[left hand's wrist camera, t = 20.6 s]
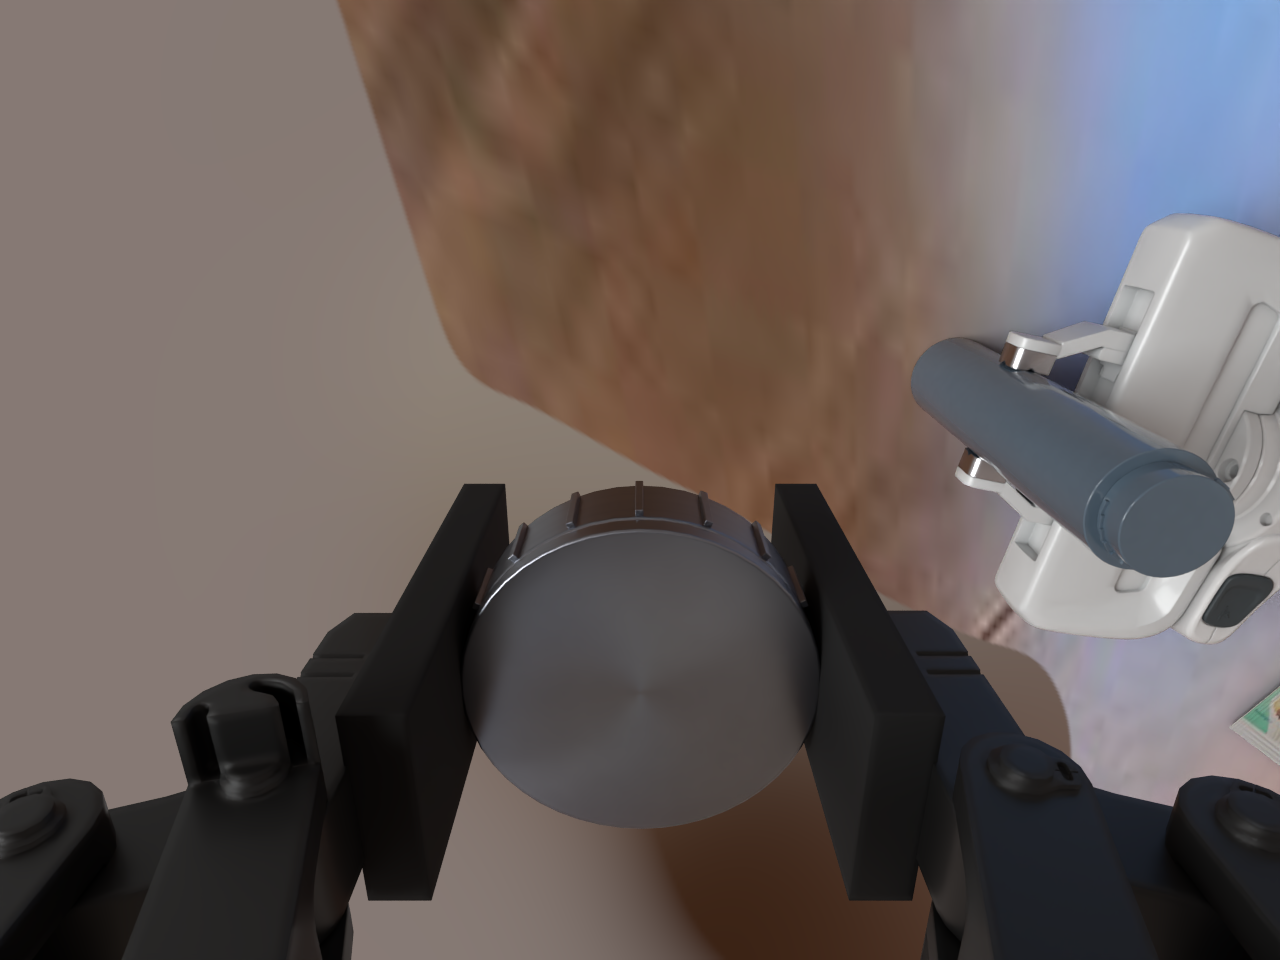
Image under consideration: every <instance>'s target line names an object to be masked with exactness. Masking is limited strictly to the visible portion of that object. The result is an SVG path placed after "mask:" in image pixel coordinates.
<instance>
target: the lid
mask: <svg viewBox="0 0 1280 960" xmlns="http://www.w3.org/2000/svg"><path fill="white" fill-rule="evenodd" d="M807 606H808V603H807V600H806V597H805V595H804V592H803V590H802V587H801V584H800V582H799V579H798V577H797V574H796V571H795V569H794V567H793V566H789V567H787V566H786V564H785V562H784V560H783V559H782V557H781V556H780V554H779V553H778V551H777V550H776V549H775V547H774V546H773V545H772V543H771V542H770V541H769V540H768V539H767V538H766V537H765V536H764V534H763V531H762V528H761V525H760V524H759V523H758V522H757V521H755V522H754V523H752V524H751V523H750V522H748V521H747V520H746V519H745V518H744V517H742V516H740V515H739V514H737V513H735V512H734V511H732V510H731V509H729V508H727V507H726V506H724V505H721V504H719V503H717V502H715V501H712V500H710V499H708V495H707V493H706V492H703V491H700V493H699V495H696V494H693V493H690V492H686V491H682V490H676V489H671V488H665V487H653V486H643V481H636V486H629V487H616V488H611V489H605V490H600V491H596V492H592V493H589V494H586V495H583V496H580V494H579V492H576V493H573V494H572V495H571V500H569V501H567V502H565V503H563V504H561V505H559V506H556V507H554V508H553V509H551V510H549V511H548V512H546V513H545V514H543V515H542V516H540V517H539V518H537V519H536V520H534V521H533V522H532V523H531V524H530V525H528V526H527V525H526V524H525V523H522V524H521V525H520V526H519V529H518V532H517V535H516V537H515V539H514V540H513V541H512V542H511V543H510V545H509V546H508V547H507V548H506V549H505V551H504V552H503V554H502V556H501V557H500V559H499V560H498V562H497V563H496V565H495V567H494V569H490V568H488V569H487V571H486V573H485V576H484V578H483V581H482V583H481V586H480V589H479V591H478V594H477V596H476V599H475V602H474V604H473V607H472V608H473V609H475V610H477V612H476V615H475V617H474V621H473V623H472V626H471V628H470V631H469V634H468V637H467V641H466V644H465V648H464V651H463V657H462V665H461V688H462V697H463V704H464V709H465V713H466V716H467V719H468V721H469V724H470V727H471V730H472V732H473V734H474V736H475V738H476V740H477V741H478V743H479V745H480V747H481V749H482V750H483V751H484V753H485V754H486V756H487V757H488V758H489V760H490V761H491V762H492V764H493V765H494V766H495V767H496V768H497V769H498V770H499V771H500V772H501V773H502V774H503V776H504V777H505V778H506V779H507V780H509V781H510V782H511V783H512V784H514V785H515V786H516V787H517V788H519V789H520V790H521V791H522V792H524V793H525V794H527V795H528V796H530V797H531V798H533V799H535V800H536V801H538V802H539V803H541V804H543V805H545V806H547V807H549V808H551V809H553V810H555V811H557V812H560V813H562V814H565V815H568V816H571V817H574V818H576V819H579V820H583V821H587V822H592V823H595V824H599V825H606V826H613V827H620V828H641V829H644V828H661V827H669V826H676V825H682V824H687V823H691V822H694V821H698V820H702V819H706V818H709V817H711V816H714V815H717V814H719V813H722V812H724V811H727V810H729V809H731V808H733V807H734V806H737V805H738V804H740V803H742V802H744V801H746V800H747V799H749V798H750V797H752V796H753V795H755V794H756V793H758V792H760V791H761V790H762V789H763V788H765V787H766V786H767V785H768V784H769V783H771V782H772V781H773V780H774V779H775V778H777V777H778V776H779V774H780V773H781V772H782V771H783V770H784V769H785V768H786V767H787V766H788V765H789V764H790V762H791V761H792V760H793V758H794V757H795V755H796V754H797V753H798V751H799V750H800V748H801V747H802V745H803V743H804V741H805V739H806V737H807V735H808V733H809V731H810V729H811V727H812V724H813V721H814V718H815V715H816V712H817V703H818V694H819V684H820V674H821V665H820V658H819V651H818V648H817V644H816V641H815V638H814V635H813V632H812V629H811V626H810V623H809V621H808V619H807V615H806V613H805V610H804V608H805V607H807Z"/></svg>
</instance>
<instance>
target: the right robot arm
mask: <svg viewBox="0 0 1280 960" xmlns="http://www.w3.org/2000/svg"><path fill="white" fill-rule="evenodd" d="M1078 353H1083V354H1086V355H1088V356H1089V358H1088V360H1087V363H1086V365H1085V367H1084V370H1083V372H1082V374H1081V377H1080V379H1079V381H1078V384H1077V386H1076V388H1075V391H1074V392H1075V393H1077V394H1079V395H1081V396H1083V397H1085V398H1086V399H1088V400H1090V401H1092V402H1094V403H1096V404H1098V405H1100V406H1102V407H1104V408H1106V409H1108V410H1110V411H1112V412H1114V413H1116V414H1118V415H1120V416H1122V417H1124V418H1126V419H1128V420H1129V421H1131V422H1133V423H1135V424H1137V425H1139V426H1141V427H1143V428H1145V429H1147V430H1149V431H1151V432H1153V433H1155V434H1157V435H1159V436H1161V437H1163V438H1165V439H1167V440H1169V441H1171V442H1172V443H1174V444H1176V445H1178V446H1180V447H1182V448H1184V449H1186V450H1188V451H1190V452H1192V453H1194V454H1196V455H1197V456H1199V457H1201V458H1202V459H1203V460H1205V461H1206V462H1207V463H1208V464H1209V465H1210V467H1211V468H1212V469H1213V471H1214V473H1215V474H1216V477H1218V478H1219V479H1221V480H1222V481H1223V482H1224V483H1225V484H1226V485H1227V486H1228V487H1229V488H1230V489H1229V490H1230V492H1231V494H1232V495H1233V497H1234V499H1235V500H1234V501H1233V503H1234V507H1235V521H1234V526H1233V529H1232V532H1231V534H1230V536H1229V538H1228V540H1227V542H1226V543H1225V545H1224V546H1223V547H1222V549H1221V550H1220V551H1219V552H1218V553H1217V554H1216V555H1215V556H1214V557H1213V558H1212V559H1211V560H1209V561H1208V562H1207V563H1205V564H1204V565H1202V566H1201V567H1199V568H1197V569H1195V570H1193V571H1191V572H1189V573H1186V574H1183V575H1179V576H1175V577H1167V578H1158V577H1151V576H1146V575H1143V574H1140V573H1138V572H1137V571H1135V570H1129V569H1122V568H1117V567H1114V566H1112V565H1109V564H1107V563H1105V562H1103V561H1102V560H1101V559H1099V558H1098V557H1097V556H1096V555H1094V554H1093V553H1092V552H1091V551H1090V550H1088V549H1087V548H1086V547H1085V546H1084V545H1083V544H1081V543H1080V542H1079V541H1078V540H1077V539H1075V538H1074V537H1073V536H1072V535H1071V534H1070V533H1068V532H1067V531H1066V530H1065V529H1064V528H1062V527H1061V526H1060V525H1059V524H1058V523H1057V522H1055V521H1054V520H1053V519H1052V518H1051V517H1049V516H1048V515H1047V514H1046V513H1045V512H1044V511H1042V510H1041V509H1040V508H1039V507H1038V506H1036V505H1035V504H1034V503H1033V502H1032V501H1031V500H1029V499H1028V498H1027V497H1026V496H1025V495H1023V494H1022V493H1021V492H1020V491H1019V490H1018V489H1016V490H1015V489H1014V488H1013V487H1012V486H1011V485H1010V484H1009V483H1008V482H1007V481H1006V479H1005V478H1003V477H1002V476H1001V475H1000V474H999V473H997V472H996V471H995V470H994V469H993V468H992V467H990V466H989V465H988V464H987V463H986V462H984V461H983V460H982V459H981V458H980V457H979V456H977V455H976V454H975V453H974V452H973V451H971V450H970V449H969V448H965V450H964V453H963V455H962V458H961V460H960V463H959V465H958V467H957V470H956V473H955V476H956V477H957V478H958V479H959V480H960V481H961V482H962V483H963V484H965V485H967V486H970V487H973V488H977V489H982V490H987V491H992V492H996V493H997V494H998V495H999V496H1000V497H1001V498H1002V499H1004V500H1005V501H1006V502H1007V503H1008V504H1009V505H1010V506H1011V507H1012V508H1013V509H1014V510H1015V511H1016V512H1018V513H1019V514H1020V515H1021V518H1020V520H1019V522H1018V525H1017V527H1016V529H1015V532H1014V534H1013V536H1012V539H1011V541H1010V543H1009V546H1008V548H1007V550H1006V553H1005V555H1004V557H1003V560H1002V562H1001V564H1000V567H999V569H998V571H997V573H996V576H995V585H996V586H997V588H998V590H999V592H1000V593H1001V595H1002V596H1003V598H1004V599H1005V601H1006V602H1007V603H1008V605H1009V606H1010V607H1011V608H1012V609H1013V611H1014V612H1015V613H1016V614H1017V615H1018V616H1019V617H1020V618H1021V619H1023V620H1024V621H1025V622H1026V623H1028V624H1029V625H1031V626H1033V627H1036V628H1039V629H1043V630H1048V631H1053V632H1059V633H1065V634H1072V635H1079V636H1088V637H1098V638H1111V639H1140V638H1146V637H1150V636H1154V635H1156V634H1159V633H1161V632H1163V631H1165V630H1167V629H1168V628H1169V627H1170V628H1172V629H1173V630H1175V631H1177V632H1178V633H1180V634H1181V635H1183V636H1184V637H1186V638H1188V639H1189V640H1191V641H1194V642H1197V643H1202V644H1217V643H1220V642H1222V641H1224V640H1225V639H1226V638H1228V637H1229V636H1230V635H1231V634H1232V633H1233V632H1235V631H1236V630H1237V629H1238V628H1239V627H1240V626H1241V625H1242V624H1243V623H1244V622H1245V621H1246V620H1247V619H1248V618H1249V617H1250V616H1251V615H1252V614H1253V613H1254V612H1255V611H1256V610H1257V609H1258V608H1259V607H1260V606H1261V605H1262V604H1263V603H1265V602H1266V601H1267V600H1268V599H1269V598H1270V597H1271V596H1272V595H1274V594H1275V593H1276V592H1277V591H1278V590H1279V589H1280V235H1279V236H1275V235H1273V234H1270V233H1268V232H1265V231H1263V230H1260V229H1257V228H1254V227H1251V226H1248V225H1245V224H1242V223H1238V222H1235V221H1232V220H1228V219H1224V218H1220V217H1214V216H1207V215H1199V214H1188V213H1175V214H1171V215H1168V216H1166V217H1164V218H1162V219H1160V220H1158V221H1156V222H1153V223H1152V224H1150V225H1148V226H1147V227H1146V228H1145V229H1144V230H1143V232H1142V234H1141V236H1140V238H1139V240H1138V243H1137V245H1136V248H1135V250H1134V252H1133V255H1132V257H1131V259H1130V262H1129V264H1128V267H1127V269H1126V271H1125V274H1124V276H1123V278H1122V281H1121V283H1120V285H1119V288H1118V290H1117V292H1116V295H1115V297H1114V299H1113V302H1112V304H1111V306H1110V309H1109V311H1108V313H1107V316H1106V318H1105V321H1104V323H1103V325H1101V324H1096V323H1091V322H1086V321H1083V322H1080V323H1077V324H1074V325H1071V326H1068V327H1065V328H1062V329H1059V330H1056V331H1053V332H1050V333H1047V334H1044V335H1043V337H1039V336H1034V335H1030V334H1025V333H1020V332H1016V331H1010V332H1009V335H1008V337H1007V340H1006V343H1005V345H1004V348H1003V350H1002V353H1001V356H1000V358H999V362H1001V363H1004V364H1005V365H1006V366H1008V367H1011V368H1014V369H1018V370H1022V371H1028V370H1030V371H1032V372H1034V373H1037V374H1041V375H1046V376H1049V374H1050V372H1051V369H1052V367H1053V365H1054V363H1055V360H1056V359H1060V358H1064V357H1067V356H1071V355H1074V354H1078Z"/></svg>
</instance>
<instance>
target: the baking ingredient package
mask: <svg viewBox="0 0 1280 960" xmlns="http://www.w3.org/2000/svg"><path fill="white" fill-rule="evenodd" d="M1229 728H1230V729H1232V730H1233V731H1234V732H1236V733H1237V734H1238V735H1240V736H1241V737H1242V738H1244V739H1245V740H1246V741H1248V742H1249V743H1250V744H1252V745H1253V746H1254V747H1256V748H1257V749H1258V750H1260V751H1261V752H1262V753H1264V754H1265V755H1266V756H1268V757H1269V758H1270V759H1271V760H1273V761H1274V762H1275V763H1277V764H1278V765H1279V766H1280V686H1279V687H1278V688H1277V689H1276V690H1274V691H1273V692H1272V693H1271V694H1270V695H1268V696H1267V697H1266V698H1265V699H1264V700H1262V701H1261V702H1260V703H1259V704H1257V705H1256V706H1255V707H1254V708H1253V709H1251V710H1250V711H1249V712H1248V713H1246V714H1245V715H1244V716H1242V717H1241V718H1240V719H1239V720H1238V721H1236V722H1235V723H1234V724H1232V726H1230V727H1229Z"/></svg>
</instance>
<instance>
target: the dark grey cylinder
mask: <svg viewBox="0 0 1280 960" xmlns="http://www.w3.org/2000/svg"><path fill="white" fill-rule="evenodd" d="M1000 356H1001V355H1000V354H999V353H997V352H995V351H993V350H991V349H989V348H987V347H985V346H983V345H981V344H979V343H977V342H975V341H973V340H970V339H966V338H951V339H946V340H943V341H941V342H938V343H936V344H935V345H933V346H932V347H930V348H929V349H928V350H927V351H926V352H924V353H923V355H922V356H921V357H920V358H919V360H918V361H917V363H916V365H915V367H914V370H913V373H912V377H911V389H912V394H913V396H914V399H915V401H916V402H917V404H918V405H919V406H920V407H921V408H922V409H923V410H924V411H925V412H927V413H928V414H929V415H930V416H931V417H932V418H934V419H935V420H936V421H937V422H938V423H940V424H941V425H942V426H943V427H944V428H945V429H947V430H948V431H949V432H950V433H951V434H953V435H954V436H955V437H956V438H957V439H958V440H960V441H961V442H962V443H963V444H964V445H966V446H967V447H968V448H969V449H970V450H971V451H973V452H974V453H975V454H976V455H977V456H979V457H980V458H981V459H982V460H983V461H984V462H986V463H987V464H988V465H989V466H990V467H992V468H993V469H994V470H995V471H996V472H997V473H999V474H1000V475H1001V476H1002V477H1003V478H1005V479H1006V480H1007V481H1008V482H1009V483H1010V484H1012V485H1013V486H1014V487H1015V488H1016V489H1018V490H1019V491H1020V492H1021V493H1022V494H1023V495H1025V496H1026V497H1027V498H1028V499H1029V500H1031V501H1032V502H1033V503H1034V504H1035V505H1036V506H1038V507H1039V508H1040V509H1041V510H1042V511H1044V512H1045V513H1046V514H1047V515H1048V516H1049V517H1051V518H1052V519H1053V520H1054V521H1055V522H1057V523H1058V524H1059V525H1060V526H1061V527H1062V528H1064V529H1065V530H1066V531H1067V532H1068V533H1070V534H1071V535H1072V536H1073V537H1074V538H1075V539H1077V540H1078V541H1079V542H1080V543H1081V544H1083V545H1084V546H1085V547H1086V548H1087V549H1088V550H1090V551H1091V552H1092V553H1093V554H1094V555H1096V556H1097V557H1098V558H1099V559H1101V560H1102V561H1103V562H1105V563H1107V564H1109V565H1112V566H1114V567H1117V568H1122V569H1129V570H1135V571H1137V572H1138V573H1140V574H1143V575H1146V576H1151V577H1158V578H1167V577H1175V576H1179V575H1183V574H1186V573H1189V572H1191V571H1193V570H1195V569H1197V568H1199V567H1201V566H1202V565H1204V564H1205V563H1207V562H1208V561H1209V560H1211V559H1212V558H1213V557H1214V556H1215V555H1216V554H1217V553H1218V552H1219V551H1220V550H1221V549H1222V547H1223V546H1224V545H1225V543H1226V542H1227V540H1228V538H1229V536H1230V534H1231V532H1232V529H1233V526H1234V521H1235V507H1234V503H1233V501H1234V500H1235V499H1234V497H1233V495H1232V494H1231V492H1230V490H1229V489H1230V488H1229V487H1228V486H1227V485H1226V484H1225V483H1224V482H1223V481H1222V480H1221V479H1219V478H1218V477H1216V474H1215V473H1214V471H1213V469H1212V468H1211V467H1210V465H1209V464H1208V463H1207V462H1206V461H1205V460H1203V459H1202V458H1201V457H1199V456H1197V455H1196V454H1194V453H1192V452H1190V451H1188V450H1186V449H1184V448H1182V447H1180V446H1178V445H1176V444H1174V443H1172V442H1171V441H1169V440H1167V439H1165V438H1163V437H1161V436H1159V435H1157V434H1155V433H1153V432H1151V431H1149V430H1147V429H1145V428H1143V427H1141V426H1139V425H1137V424H1135V423H1133V422H1131V421H1129V420H1128V419H1126V418H1124V417H1122V416H1120V415H1118V414H1116V413H1114V412H1112V411H1110V410H1108V409H1106V408H1104V407H1102V406H1100V405H1098V404H1096V403H1094V402H1092V401H1090V400H1088V399H1086V398H1085V397H1083V396H1081V395H1079V394H1077V393H1075V392H1073V391H1071V390H1069V389H1067V388H1065V387H1063V386H1061V385H1059V384H1057V383H1055V382H1053V381H1051V380H1049V379H1047V378H1045V377H1043V376H1042V375H1040V374H1037V373H1034V372H1032V371H1030V370H1028V371H1022V370H1018V369H1014V368H1011V367H1008V366H1006V365H1005V364H1004V363H1001V362H999V358H1000Z"/></svg>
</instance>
